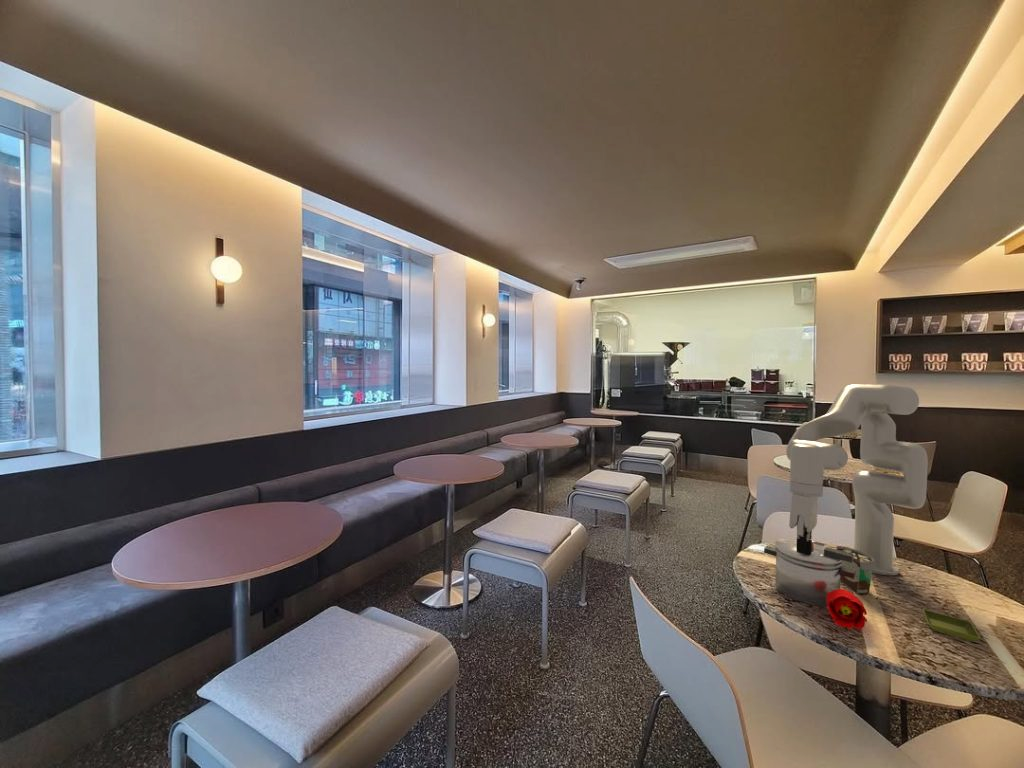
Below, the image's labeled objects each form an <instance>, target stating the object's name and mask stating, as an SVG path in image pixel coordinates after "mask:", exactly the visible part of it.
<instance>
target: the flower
mask: <svg viewBox="0 0 1024 768" xmlns="http://www.w3.org/2000/svg"><path fill="white" fill-rule="evenodd" d="M826 602H827V607H826V609H827V611H828V613H829V615H830V617H832V621H833V622H834V624H836V625H837V626H838V627H841V628H842V627H844V628H847V629H848V630H852V629H853V628H855V629H857V630H863V629H864V628H865V626H866V622H867V620H868V619H867V617H866V616H867V614H868V613H867V609H866V608H865V606H864V603H863V601H861V599H860V598H858V597H857V595H856V594H855V593H852V591H849V590H847V589H844V588H840V589H837V590H833V591H831V592H829V593H828V594H827V595H826Z"/></svg>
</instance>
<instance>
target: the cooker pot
mask: <svg viewBox="0 0 1024 768" xmlns="http://www.w3.org/2000/svg"><path fill="white" fill-rule="evenodd" d="M763 553H764V554H767V555H770V556H772V557H773V556H774V557H775V576H774V578H775V580H774V585H775V588H776V587H777V588H776V589H777V590H778V591H779V592H780V593H782V594H783V595H785V596H786V597H789V598H791V599H793V600H796V601H797V602H800V603H805V604H806V605H812V606H817V607H826V608H827V602H826V595H827V594H828V593H829V592H831V591H833V590H837V589H841V582H840V578H841V575H842V576H846V577H849V578H852V579H854V577H855V574H856V570H853V569H849V568H846V567H842V563H841V564H840V565H835V566H825V565H817V564H811V563H807V562H803V561H799V560H796V559H793V558H791V557H788V556H786V555H784V554H782V553H780V552H779V551H778V550H777V549H776V548H775V546H774V547H773V546H771V545H770V546H769V545H766V546H765V547H764V548H763Z"/></svg>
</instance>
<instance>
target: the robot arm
mask: <svg viewBox="0 0 1024 768" xmlns="http://www.w3.org/2000/svg"><path fill="white" fill-rule="evenodd" d="M919 405H920V399H919V395H918V393H917V391H916V390H914V389H913V388H912V387H908V386H907V387H906V386H902V385H900V386H899V385H893V384H892V385H891V384H873V383H872V384H867V383H865V384H863V383H860V384H859V383H858V384H857V383H856V384H855V383H854V384H850V385H847V386H844V387H842V388H841V390H840V391H839V392H838V394H837V396H836V397H835V399H834V401H833V402H832V404H831V406H830V407H829V409H828V410H827V412H826V413H825V414H824V415H823V414H822V415H821V416H818V417H816V418H814V419H812V420H810V421H807V422H806V423H804V424H802V425H801V426H799V428H797V429H796V431H795V432H794V433H793V435H792V437H791V438H790V439H789V441H788V443H787V445H786V453H785V454H786V457H787V459H788V460H789V461H790V463H789V465H790V467H789V492H790V493H791V501H790V512H789V523H788V526H789V528H790V529H794V528H795V527H796V539H797V548H796V551H797V552H798V553H802V554H805V555H810V554H811V553H812V541H813V540H812V537H813V536H812V535H813V530H814V529H815V528H816V527H817V525H818V511H819V509H818V508H819V507H818V506H819V505H818V504H819V503H818V502H819V498H823V490H824V485H823V484H824V471H825V470H826V471H838V470H841V469H843V468H844V467H845V466H846V465H847V463H848V461H849V456H848V452H847V450H846V449H845V448H844V447H843V446H841V445H839V444H835V443H832V442H831V443H830V442H829V443H828V442H822V441H819V440H822V439H827V438H828V439H829V438H831V437H838V436H845V435H849V434H852V433H854V432H856V431H858V429H859V428H860V429H861V430H860V431H861V432H860V448H859V454H860V455H859V456H860V460H861V462H862V464H864V465H866V466H868V467H873V468H876V469H877V468H878V469H884V470H887V471H888V470H889V471H895V472H899V473H902V474H903V475H897V474H893V473H885V472H881V471H875V470H861V471H858V472H856V473H855V474H854V475H853V477H852V481H851V482H852V489H853V495H854V505H855V509H854V511H855V512H854V542H853V543H854V547H853V549H855V550H858V551H861V552H864V553H866V554H868V555H870V556H871V557H872V558H873V560H874V561H875V565H876V568H875V569H873V570H872V574H876V575H883V576H897V575H899V574H900V569H899V568H898V567H897V566H896V565H894V563H893V559H894V558H893V557H894V554H893V553H894V530H895V529H894V528H895V527H894V526H895V517H894V514H893V512H892V510H891V509H890V508H889V507H888V505H893V506H898V507H901V508H907V509H913V510H918V509H921V508H922V507H924V505H925V504H926V500H927V487H928V485H927V484H928V467H929V466H928V465H929V464H928V463H929V460H928V454H927V451H926V449H925V448H924V447H923V446H921V445H920V444H918V443H915V442H908V441H907V442H906V441H898V440H897V437H896V435H897V432H896V431H897V424H896V423H895V421H894V420H893V418H892V417H891V416H890V415H889V414H891V415H903V416H904V415H905V416H906V415H907V416H908V415H911V414H913V413H915V411H916V410H917V409H918V407H919ZM887 504H888V505H887Z"/></svg>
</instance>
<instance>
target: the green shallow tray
mask: <svg viewBox="0 0 1024 768" xmlns="http://www.w3.org/2000/svg"><path fill="white" fill-rule="evenodd" d="M921 610H922V612H923V615H924V618H925V620H926V623H927V625H928V626H929V628H930V629H931V630H933V632H937V633H941V634H945V635H948V636H953V637H954V638H955V637H956V638H958V639H962V640H965V641H970V642H975V641H978V640H980V639H981V637H980V635H979V633H978V632H977V631H978V630H977V629H976V628H975V625H974V624H973V623H972V622H971V621H969V620H966V619H962V618H958V617H954V616H950V615H946V614H943V613H939V612H936V611H932V610H928V609H921Z"/></svg>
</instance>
